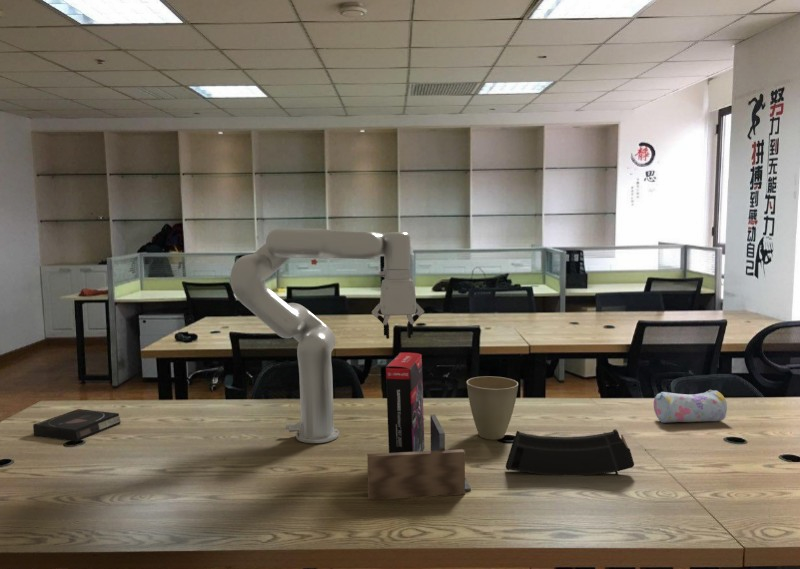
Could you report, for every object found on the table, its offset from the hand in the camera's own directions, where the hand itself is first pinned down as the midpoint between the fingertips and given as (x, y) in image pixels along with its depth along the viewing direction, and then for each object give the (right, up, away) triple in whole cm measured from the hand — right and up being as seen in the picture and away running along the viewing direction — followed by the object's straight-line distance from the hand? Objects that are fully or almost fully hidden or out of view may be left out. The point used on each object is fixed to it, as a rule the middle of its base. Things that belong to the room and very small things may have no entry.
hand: (398, 337), depth 173 cm
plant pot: (+28, -29, +2) cm, 40 cm away
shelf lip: (+4, -33, -37) cm, 50 cm away
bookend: (+13, -32, -28) cm, 44 cm away
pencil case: (+91, -28, +13) cm, 96 cm away
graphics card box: (+2, -31, -16) cm, 35 cm away
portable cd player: (-99, -31, +12) cm, 104 cm away
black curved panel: (+42, -32, -25) cm, 59 cm away
